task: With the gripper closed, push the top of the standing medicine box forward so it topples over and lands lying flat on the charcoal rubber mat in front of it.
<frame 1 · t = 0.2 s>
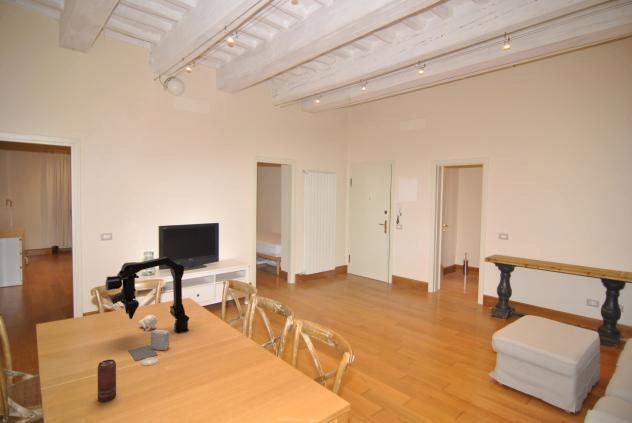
hand: (129, 316, 184), 14 cm above the table, fingers open, 9 cm apart
can: (106, 398, 136), on the table
white animal figurine: (146, 329, 205), on the table
white glossy disc: (149, 362, 165), on the table
mat: (142, 352, 174), on the table
medicine box: (159, 348, 179), on the table, touching mat
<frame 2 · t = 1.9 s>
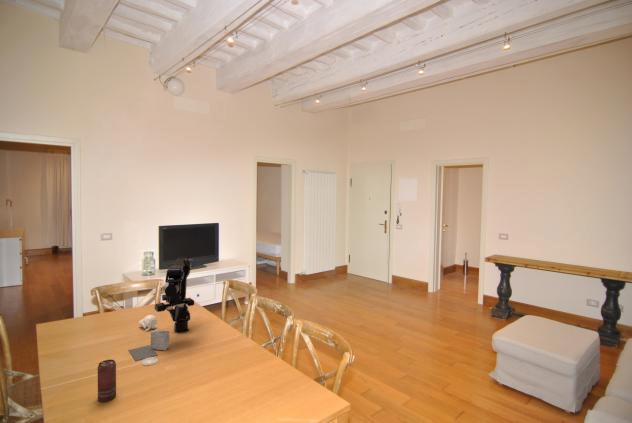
hand: (174, 320, 183), 13 cm above the table, fingers closed
nothing on the table moved.
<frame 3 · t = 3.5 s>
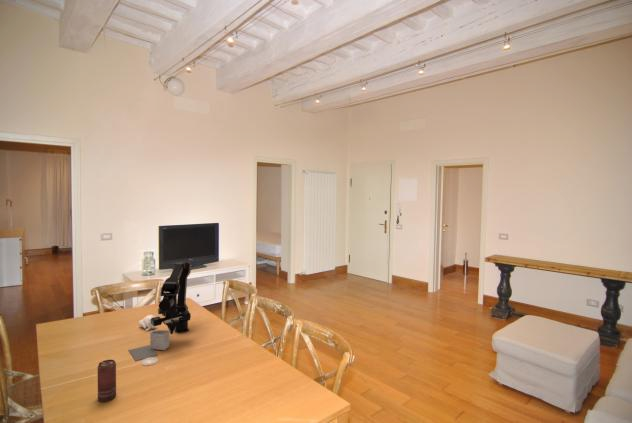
hand: (171, 334, 182), 6 cm above the table, fingers closed
medicine box: (159, 348, 179), on the table, touching gripper, mat
everything else where it was.
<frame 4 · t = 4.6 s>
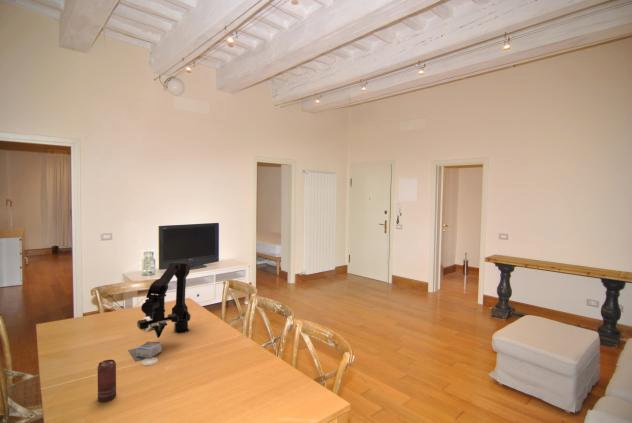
hand: (158, 337, 178), 6 cm above the table, fingers closed
medicine box: (155, 345, 176), point 3 cm above the table, touching mat
everything else where it was.
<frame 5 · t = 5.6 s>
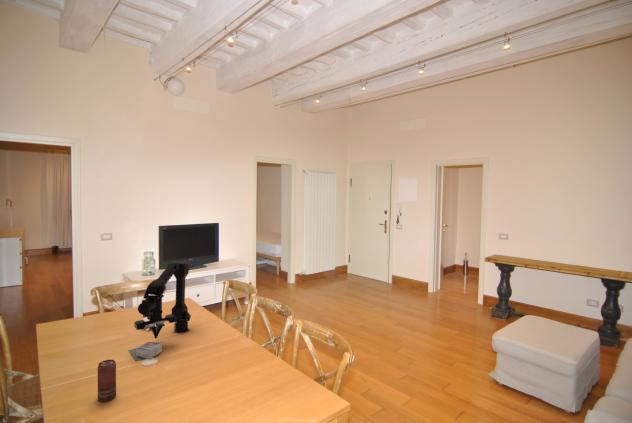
hand: (155, 338, 177), 6 cm above the table, fingers closed
white glossy disc: (149, 363, 164), on the table, touching medicine box
medicine box: (155, 346, 176), point 3 cm above the table, touching white glossy disc, mat
everything else where it was.
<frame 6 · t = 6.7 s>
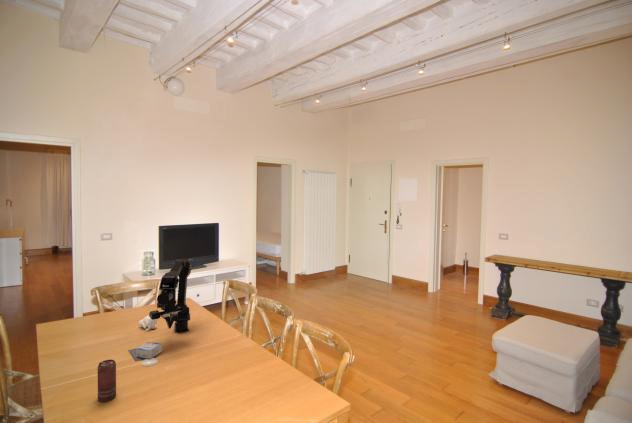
hand: (169, 328, 181), 10 cm above the table, fingers closed
nothing on the table moved.
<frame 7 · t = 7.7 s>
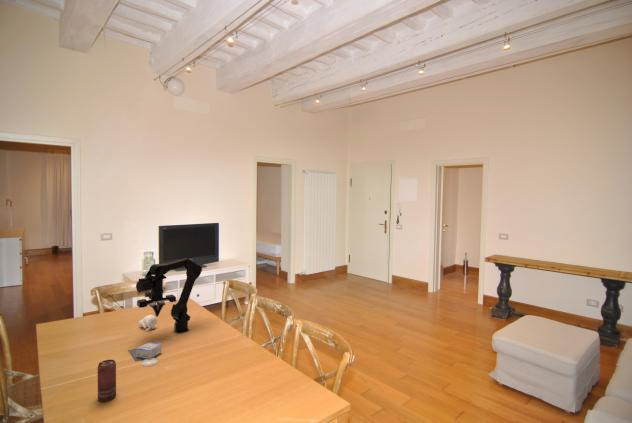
hand: (156, 316, 189), 13 cm above the table, fingers closed
nothing on the table moved.
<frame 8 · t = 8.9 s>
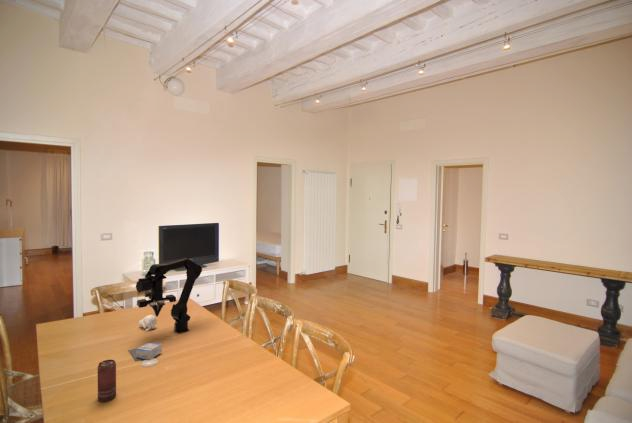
hand: (156, 316, 189), 13 cm above the table, fingers closed
medicine box: (155, 347, 175), point 3 cm above the table, touching white glossy disc
everything else where it was.
at the end: medicine box tilted 89°; medicine box 5.8 cm from the mat (horizontally); medicine box point 2.6 cm above the table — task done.
